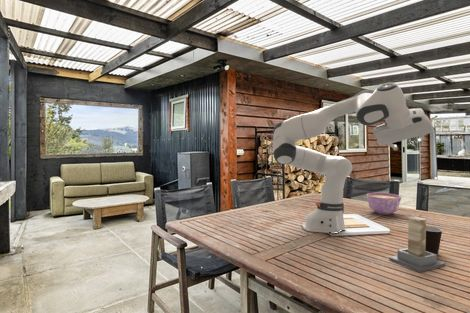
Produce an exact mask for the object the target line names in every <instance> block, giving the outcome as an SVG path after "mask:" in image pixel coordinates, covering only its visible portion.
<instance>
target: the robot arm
mask: <svg viewBox="0 0 470 313" xmlns="http://www.w3.org/2000/svg"><path fill="white" fill-rule="evenodd" d="M352 113H355V117H356V119H357V121H358V123H360V124H361V125H363V126H373V125H375V124H379V123H380V122H382V121H384V120H385V123H382V124H380V125H376V126H375V127H374V128H373V129H372V133H373V135H374V137H376V140H377V145H379V146H380V147H381V146H382V147H383V146H386V145H388V146H389V147H390V148H392V149H393V151H398V150H399V147H398V145H397V144H394V143H397V142H402V141H405V140H406V141H407V140H409V139H414V138H418V137H420V138H418V139H417V141H418V144H419V145H423V144H424V139H425V137H426V136H425V135H428V134H433V132H434V131H435V130H434V127H433V126H434V125H433V124H432V121H431V119H430V118H429V116H428V115H427V114H425V111H424V110H423V109H422V108H418V107H417V108H409V107H408V106H407V100H406V97H405V94H404V92H403V90H402V88H401V87H400V85H398V84H397V83H395V82H386V83H381V84H379V85H378V86H377V87H376V88H375V90H372V89H363V90H361V91H359V92H357V93H356V94H355V95H353V96H351V97H349V98H346V99H343V100H341V101H337V102H334V103H331V104H328V105H326V106H324V107H320V108H319V109H315V110H314V111H313V110H312V111H310V112H306V113H302V114H298V115H295V116H292V117H290V118H287V119H285V120H284V121H281V122H280V121H279V122H277V123H276V124H275V125H274V128H273V135H272V136H273V137H272V145H273V147H272V149H273V152H272V153H273V158H274V161H275V162H276V163H278V164H281V165H288V166H291V167H294V168H297V169H301V170H304V171H305V170H306V171H309V172H312V173H316V174H319V175H324V176H325V180H324V183H323V184H322V185H321V188H320V201H318V200H316V201H315V202H314V204H315V205H316V209H314V210H313V211H311V212H310V213H308V214H307V216H306V219H305V222H302V224H301V228H302V229H303V230H304V231H307V232H312V233H314V232H315V233H323V234H324V233H326V234H330V233H329V232H339V231H340V230H344V229H345V228H346V225H345V224H346V223H345V219H344V218H345V217H344V213H345V212H344V211H345V205H344V204H345V203H344V187H345V183H346V180H347V178H348V176H350V174H351V173H352V171H353V164H352V162H351V160H350V159H348V158H345V156H339V155H330V154H325V153H322V152H319V151H317V150H315V149H311V148H307V147H303V146H301V145H297V142H298V141H300V140H308V139H311V138H316V137H319V136H320V135H322V134H323V133H324V132H325V131H326V130H327V128H328V126H329V125H330V123H331V122H332V121H333V120H335V119H337V118H339V117H342V116H345V115H349V114H352ZM339 233H340V232H339Z"/></svg>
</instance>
